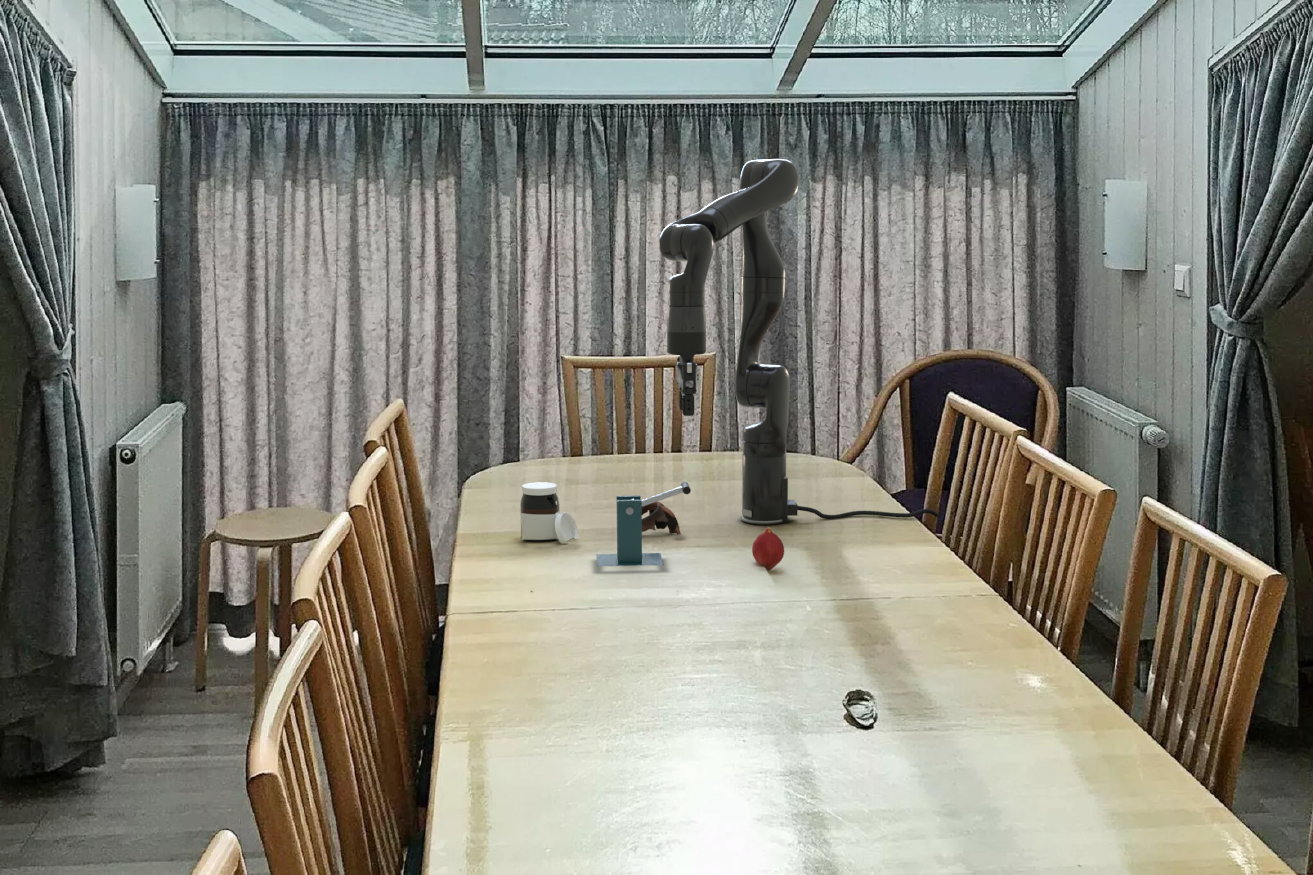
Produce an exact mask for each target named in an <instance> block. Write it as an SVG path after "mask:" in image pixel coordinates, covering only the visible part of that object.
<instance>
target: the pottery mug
mask: <svg viewBox="0 0 1313 875" xmlns="http://www.w3.org/2000/svg"><path fill="white" fill-rule="evenodd" d="M647 513H648V515H647V516H645V517H642V533H644V532H646V531H649V530H651V531H657V530H665V529H666V528H668V532H669V534H670V535H672V534H676V535H680V536H681V535H682V533H681V529H680V525H679V524H680V523H679V522H678V519H677V517H676V515H675V514H674V512H673V511H672V509H670V508H668V507H667V506H666V505H664V504H663V503H662V502H660V501H657V502H654V503H651V504H648V505H645V506H642V516H644V514H647Z"/></svg>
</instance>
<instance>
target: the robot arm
mask: <svg viewBox="0 0 1313 875" xmlns="http://www.w3.org/2000/svg"><path fill="white" fill-rule="evenodd" d="M799 184H800V178H799V172H798V169H797V167H796V166H795V164H794V163H793V162H792V161H790V160H788V159H783V158H772V159H753V160H749V161H747V162H746V163H745V164H744V165H743V167H742V169H741V172H740V176H739V190H737V191H735V192H732V193H729V194H726V195H724V196H721V197H718V198H716V199H714V200H713V201H712V202H710V203H709V204H707V205H706V206H704V207H703V208H702V209H701V210H699V211H698V212H696V213H693V214H689V215H688V216H684V217H682V218H680V219H677V220H675V221H673V222H671V223H669V224H668V225H667V226H665V227H664V229H663V230H662V231H661V233H660V235H659V237H658V249H659V252H660V254H661V256H662V257H664V258H665V259H666V260H668V261H671V262H686V264H685V268H684V270H683V271H682V272H681V273H677V274H674V275H672V276H670V278H669V279H668V281H667V282H668V283H667V314H666V352H667V354H668V355H672V356H677V358H676V361H677V362H675V372H676V376H675V377H676V378H675V379H676V385H677V390H678V395H679V396H678V400H679V401H678V408H679V410H681V411H682V415H683V416H684V417H694V415H695V396H696V395H697V392H698V391H697V385H698V384H697V383H698V363H697V362H695V360H694V357H695V356H700V355H704V354H705V353H706V352H707V315H706V307H705V306H706V304H705V303H706V302H705V298H706V296H705V295H706V294H705V290H706V289H705V285H706V280H707V277H708V272H709V269H710V265H711V260H712V258H713V253H714V249H715V248H714V247H715V244H717V243H719V242H721V241H722V240H723V239H724V238H726V237H727V236H729V235H730V234H731V233H733V232H734V231H736V230H737V229H738V228H740V227H741V265H740V268H741V269H740V287H739V288H740V290H739V293H740V294H739V296H740V302H739V304H740V305H739V306H740V308H739V309H740V312H739V313H740V315H739V336H738V346H737V355H736V365H735V374H734V394H735V399H736V401H737V403H738V404H739V405H740V406H741V407H744V408H753V409H765V410H766V411H765V415H764V418H763V419H761V420H760V421H757V422H754V423H751V424H747V425H745V426H743V428H742V452H741V454H742V460H741V461H742V462H741V463H742V464H741V466H742V467H741V468H742V475H741V476H742V477H741V478H742V479H741V480H742V481H741V482H742V484H741V485H742V487H741V488H742V489H741V491H742V492H741V496H742V498H741V514H742V515H741V521H742V522H744V523H747V524H752V525H764V526H765V525H778V524H783V523H786V524H787V523H788V517H790V516H792V517H793V516H795V517H796V516H798V511H800V512H808V513H811V514H814V515H816V516H818V517H819V518H820V519H826V520H836V519H843V518H848V517H853V516H877V517H888V518H904V519H905V518H915V517H917V516H920V515H923V514H930V515H933V516H934V517H935V518H940V517H941V516H940V514H939V513H938V512H937V511H936V510H934V509H932V508H923V509H919V510H917V511H913V512H890V511H889V512H888V511H880V510H879V511H877V510H854V511H848V512H843V513H838V514H826V513H822V512H821V511H820V510H818V509H816V508H813V507H809V506H803V505H798V503H797V502H796V500H794V499H789V479H788V477H787V438H788V437H787V433H788V427H789V420H790V419H789V418H790V415H789V414H790V399H791V397H790V396H791V377H790V373H789V371H788V369H787V367H785V366H784V365H780V364H768V363H767V364H766V363H759V356H760V350H761V345H762V343H763V340H764V337H765V335H766V334H767V332H768V330H769V328H770V327H771V325H772V324H773V322H774V321H775V319H776V318H777V316H778V315H779V313H780V312H781V310H782V307H783V305H784V302H785V296H786V269H785V268H786V267H785V265H784V262H783V260H782V258H781V255H780V253H779V252H778V249H777V247H776V246H775V244H774V242H773V240H772V238H771V235H770V233H769V230H768V226H767V215H766V212H768V211H770V210H773V209H774V208H777V207H780V206H782V205H784V204H785V205H786V204H787V203H789V202H790V201H791V200H793V199H794V197H796V195H797V193H798V190H799Z"/></svg>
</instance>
